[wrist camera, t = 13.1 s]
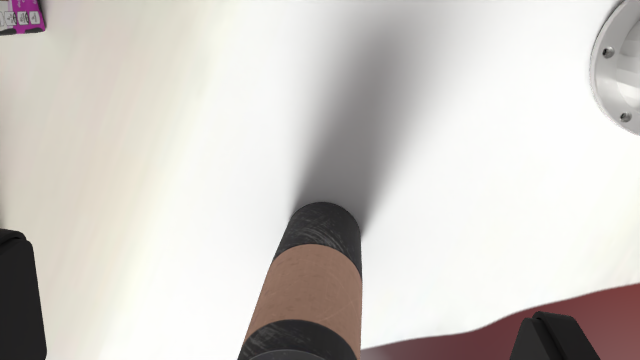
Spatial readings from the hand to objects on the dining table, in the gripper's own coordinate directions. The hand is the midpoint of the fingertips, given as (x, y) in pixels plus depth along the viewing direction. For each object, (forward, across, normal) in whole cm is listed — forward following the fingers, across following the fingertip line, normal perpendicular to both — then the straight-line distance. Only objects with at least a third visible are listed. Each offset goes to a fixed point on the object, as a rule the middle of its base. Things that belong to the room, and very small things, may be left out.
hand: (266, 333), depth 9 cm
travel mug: (+33, 0, +15) cm, 36 cm away
